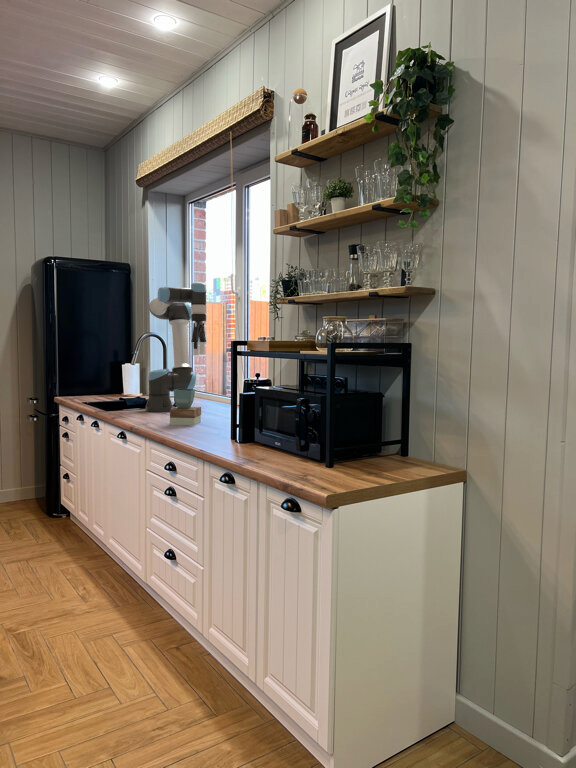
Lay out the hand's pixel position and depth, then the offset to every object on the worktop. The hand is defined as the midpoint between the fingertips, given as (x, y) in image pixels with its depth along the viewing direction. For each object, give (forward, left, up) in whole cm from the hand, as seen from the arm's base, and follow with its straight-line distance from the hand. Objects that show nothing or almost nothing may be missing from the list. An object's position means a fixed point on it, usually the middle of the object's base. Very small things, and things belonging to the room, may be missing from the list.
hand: (199, 355), depth 300 cm
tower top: (+18, -3, -29) cm, 35 cm away
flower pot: (+18, -3, -25) cm, 31 cm away
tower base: (+18, -3, -33) cm, 38 cm away
